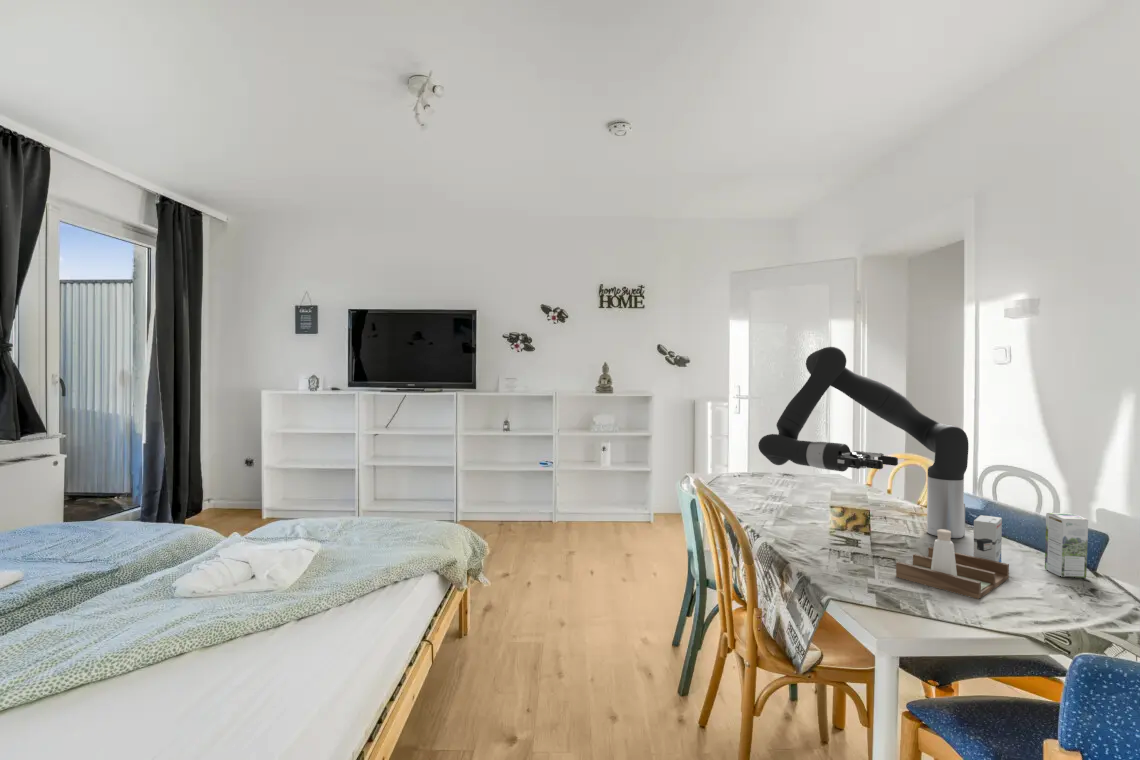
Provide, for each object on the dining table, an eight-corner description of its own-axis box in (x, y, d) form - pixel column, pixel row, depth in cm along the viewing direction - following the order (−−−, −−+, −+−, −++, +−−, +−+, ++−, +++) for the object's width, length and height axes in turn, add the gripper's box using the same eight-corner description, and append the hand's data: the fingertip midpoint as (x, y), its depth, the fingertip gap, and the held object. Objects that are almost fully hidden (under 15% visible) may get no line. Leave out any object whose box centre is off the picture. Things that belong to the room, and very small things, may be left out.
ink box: (979, 558, 152) (979, 514, 152) (1002, 562, 149) (1002, 517, 149) (972, 565, 146) (972, 519, 146) (995, 570, 143) (996, 523, 143)
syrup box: (1068, 570, 143) (1069, 512, 143) (1087, 578, 137) (1088, 518, 137) (1044, 569, 144) (1044, 511, 143) (1061, 578, 138) (1062, 517, 137)
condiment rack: (930, 560, 151) (930, 546, 151) (1008, 578, 137) (1008, 564, 137) (896, 576, 139) (896, 562, 139) (978, 599, 125) (978, 583, 125)
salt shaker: (946, 572, 138) (946, 527, 138) (963, 581, 133) (963, 533, 132) (924, 573, 138) (925, 527, 138) (940, 581, 132) (941, 534, 132)
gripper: (814, 444, 155) (877, 451, 142) (841, 440, 163) (902, 446, 151) (814, 472, 155) (877, 481, 142) (840, 466, 164) (902, 474, 151)
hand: (890, 463), depth 146 cm, fingers open, 8 cm apart
